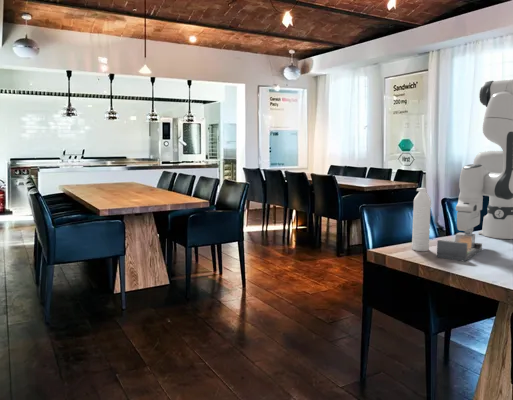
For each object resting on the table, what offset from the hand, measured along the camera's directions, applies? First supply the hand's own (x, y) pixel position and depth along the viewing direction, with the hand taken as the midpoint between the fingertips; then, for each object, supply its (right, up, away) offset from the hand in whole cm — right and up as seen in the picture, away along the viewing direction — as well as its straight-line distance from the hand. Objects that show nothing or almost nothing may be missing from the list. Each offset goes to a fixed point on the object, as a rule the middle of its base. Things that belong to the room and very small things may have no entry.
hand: (468, 238), depth 185 cm
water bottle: (-21, -5, -3) cm, 22 cm away
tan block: (-3, -3, -3) cm, 5 cm away
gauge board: (-7, -5, -8) cm, 12 cm away
